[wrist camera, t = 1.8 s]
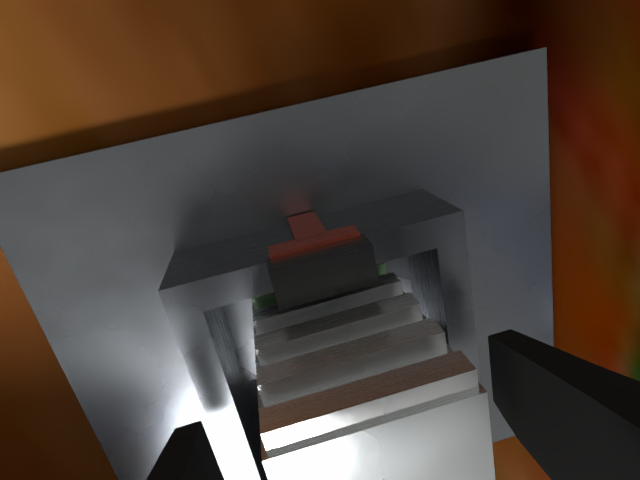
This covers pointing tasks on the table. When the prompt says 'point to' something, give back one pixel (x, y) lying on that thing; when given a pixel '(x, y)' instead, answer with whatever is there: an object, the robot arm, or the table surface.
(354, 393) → the layered block
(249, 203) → the stand base
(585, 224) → the table surface
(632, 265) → the table surface
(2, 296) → the table surface
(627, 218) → the table surface
